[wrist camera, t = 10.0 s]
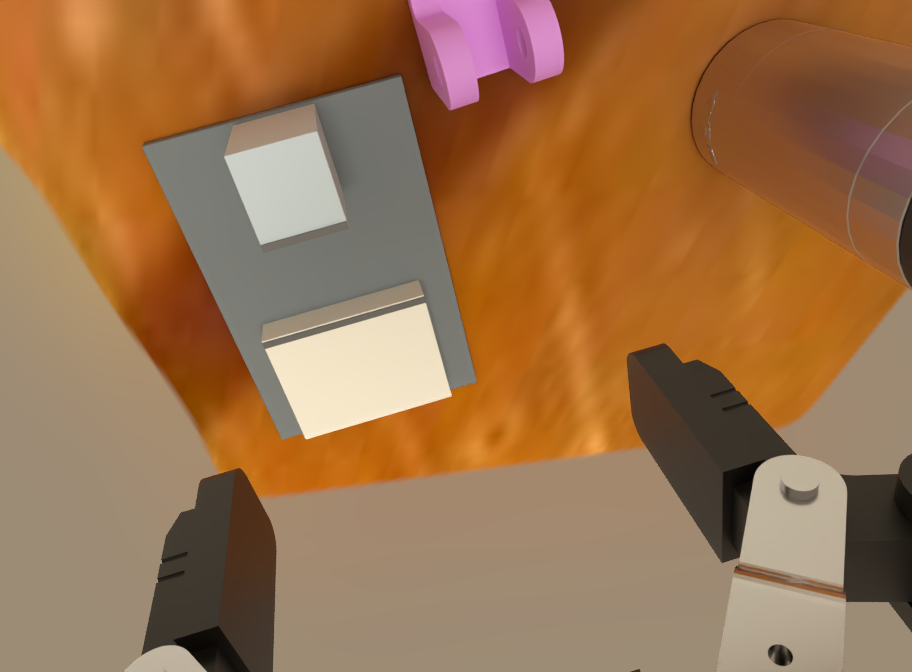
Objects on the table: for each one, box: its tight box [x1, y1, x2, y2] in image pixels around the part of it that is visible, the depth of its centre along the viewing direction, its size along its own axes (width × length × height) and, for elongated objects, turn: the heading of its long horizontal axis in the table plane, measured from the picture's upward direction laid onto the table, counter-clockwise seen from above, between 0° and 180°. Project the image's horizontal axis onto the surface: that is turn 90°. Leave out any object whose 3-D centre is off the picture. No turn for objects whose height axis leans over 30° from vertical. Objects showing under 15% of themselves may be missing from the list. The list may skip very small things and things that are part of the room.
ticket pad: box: [142, 74, 477, 440], centre depth 41 cm, size 14×21×3 cm, turn 13°
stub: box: [224, 104, 349, 253], centre depth 35 cm, size 4×5×6 cm
